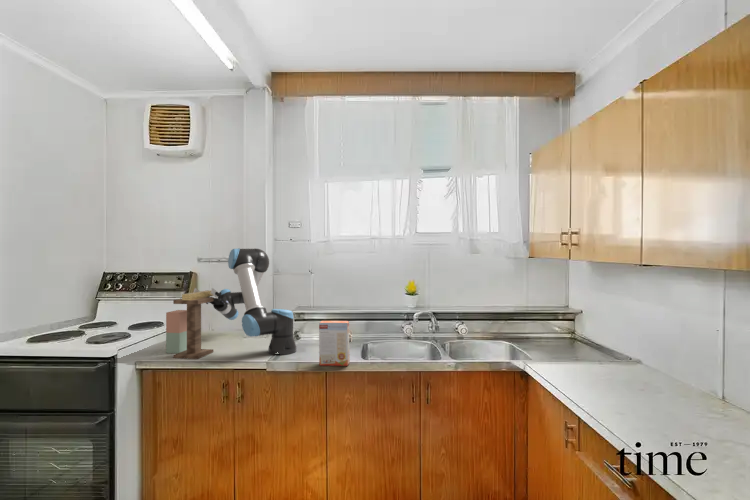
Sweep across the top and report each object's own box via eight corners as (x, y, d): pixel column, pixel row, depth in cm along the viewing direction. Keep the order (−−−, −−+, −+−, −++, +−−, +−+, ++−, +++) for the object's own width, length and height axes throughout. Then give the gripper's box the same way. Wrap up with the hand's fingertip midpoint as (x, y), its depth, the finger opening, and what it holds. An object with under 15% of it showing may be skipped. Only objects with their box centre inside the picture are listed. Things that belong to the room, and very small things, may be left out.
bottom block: (190, 348, 223) (190, 329, 223) (179, 353, 213) (179, 333, 213) (178, 348, 224) (178, 329, 224) (166, 352, 214) (166, 332, 214)
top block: (190, 329, 223) (190, 310, 223) (179, 333, 213) (179, 312, 213) (178, 329, 224) (178, 309, 224) (166, 332, 214) (166, 312, 214)
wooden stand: (213, 352, 215) (213, 297, 215) (197, 358, 201) (198, 300, 202) (190, 351, 217) (190, 297, 218) (173, 357, 203) (173, 300, 204)
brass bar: (213, 295, 224) (213, 290, 224) (189, 300, 202) (189, 294, 202) (206, 295, 225) (206, 290, 225) (182, 300, 203) (182, 294, 203)
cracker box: (349, 363, 193) (349, 320, 193) (347, 366, 187) (347, 322, 187) (321, 362, 194) (321, 320, 195) (318, 365, 188) (318, 322, 189)
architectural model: (350, 343, 237) (350, 331, 237) (339, 342, 240) (339, 330, 240) (352, 342, 240) (352, 330, 241) (342, 341, 243) (342, 329, 243)
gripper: (237, 312, 233) (219, 296, 214) (203, 311, 237) (182, 296, 218) (240, 300, 237) (223, 284, 218) (206, 299, 240) (187, 284, 221)
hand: (203, 290), depth 218 cm, fingers open, 10 cm apart
